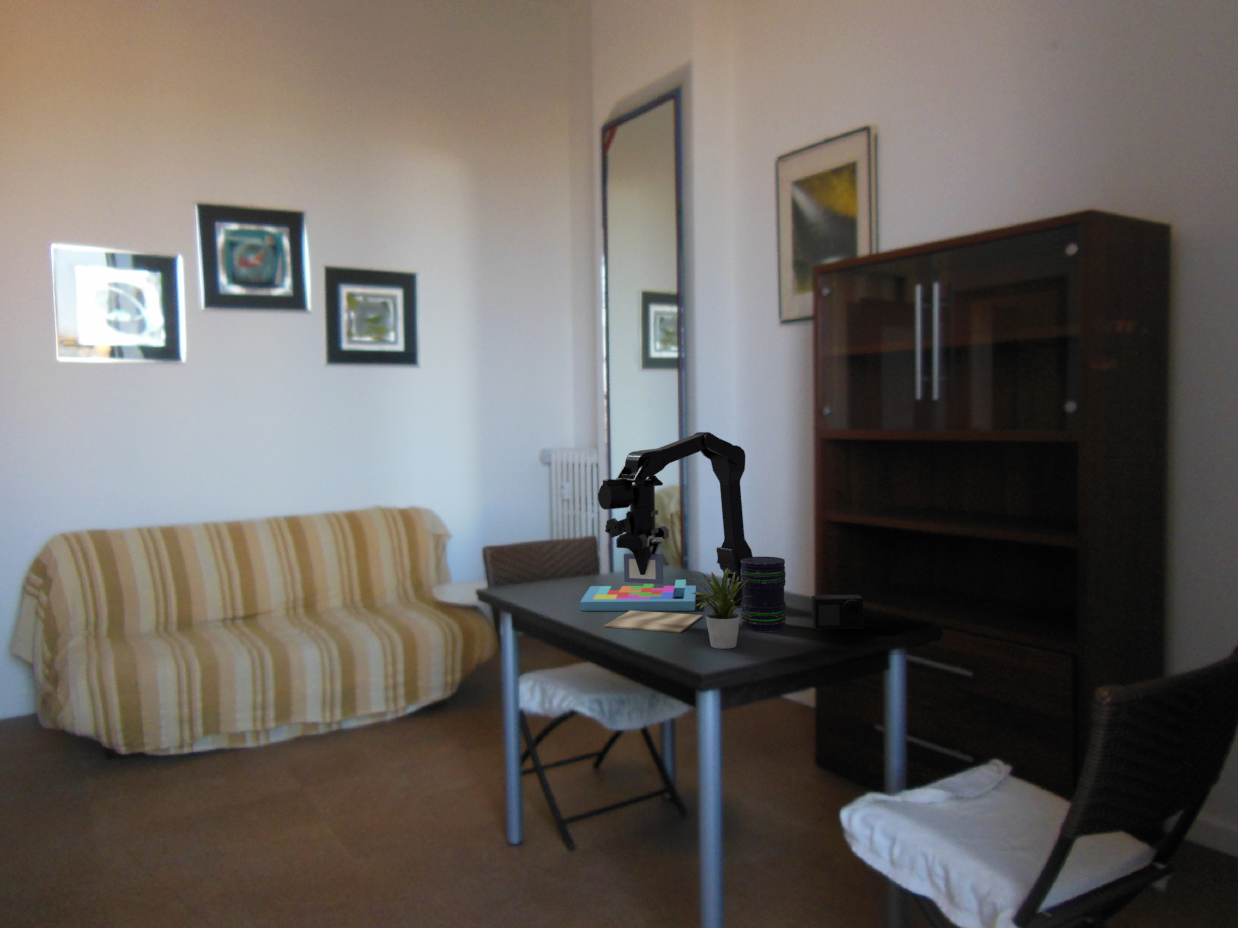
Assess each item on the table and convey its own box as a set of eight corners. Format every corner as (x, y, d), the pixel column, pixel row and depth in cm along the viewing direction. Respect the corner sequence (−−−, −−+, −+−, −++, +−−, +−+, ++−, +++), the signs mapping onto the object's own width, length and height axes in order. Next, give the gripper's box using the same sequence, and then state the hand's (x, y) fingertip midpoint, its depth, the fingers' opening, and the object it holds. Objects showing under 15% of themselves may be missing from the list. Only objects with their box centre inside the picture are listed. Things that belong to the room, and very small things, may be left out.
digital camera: (816, 632, 193) (816, 599, 192) (811, 626, 198) (811, 594, 198) (865, 631, 193) (864, 598, 192) (858, 625, 198) (858, 593, 198)
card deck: (663, 582, 204) (662, 554, 204) (661, 584, 203) (660, 555, 203) (627, 580, 208) (626, 553, 208) (624, 582, 206) (623, 554, 206)
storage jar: (786, 622, 202) (785, 556, 201) (786, 632, 193) (785, 563, 192) (742, 621, 204) (741, 556, 203) (740, 631, 194) (738, 563, 194)
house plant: (690, 634, 193) (688, 559, 192) (755, 635, 190) (753, 559, 190) (684, 652, 179) (682, 571, 178) (754, 653, 176) (753, 571, 176)
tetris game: (695, 612, 216) (696, 589, 244) (694, 601, 216) (696, 579, 244) (580, 612, 219) (594, 590, 247) (580, 601, 219) (594, 580, 247)
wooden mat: (701, 616, 210) (701, 614, 210) (680, 632, 195) (680, 630, 195) (630, 611, 216) (630, 610, 216) (604, 627, 202) (604, 625, 202)
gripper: (625, 501, 216) (626, 565, 217) (593, 510, 199) (595, 579, 200) (668, 502, 212) (670, 567, 213) (640, 511, 195) (642, 582, 195)
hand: (644, 574), depth 205 cm, fingers closed on card deck, 2 cm apart
